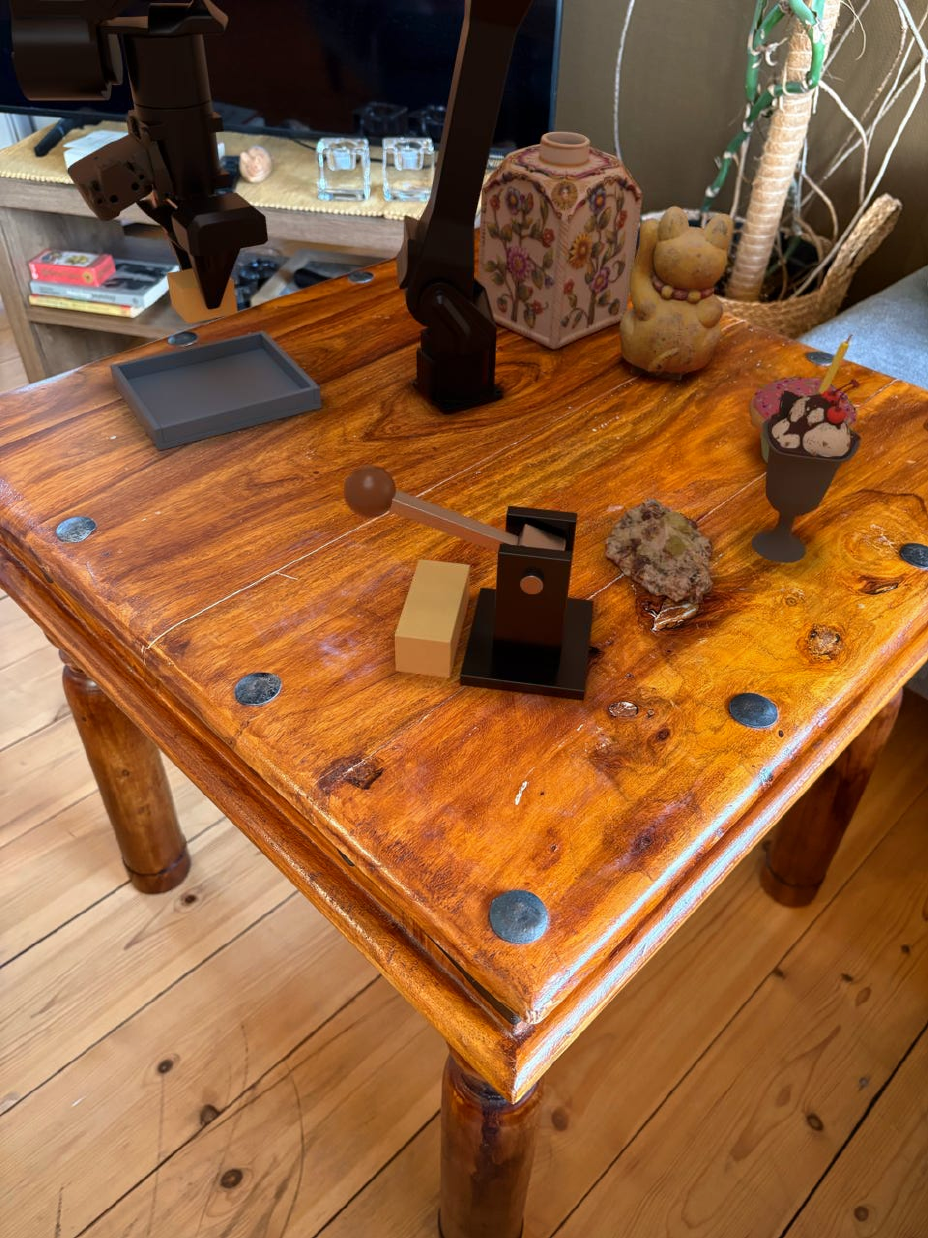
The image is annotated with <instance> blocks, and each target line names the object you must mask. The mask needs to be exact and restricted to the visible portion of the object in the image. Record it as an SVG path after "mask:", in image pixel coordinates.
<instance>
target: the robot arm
mask: <svg viewBox="0 0 928 1238" xmlns="http://www.w3.org/2000/svg"><path fill="white" fill-rule="evenodd" d="M136 1H137V0H8V4H9V8H10V11H11V15H12V16H11V24H10V32H11V33H10V35H11V44H12V51H13V52H11V61H12V64H13V69H14V73H15V76H16V79H17V82H18V85H19V88H20V89H21V91H22V93H23V95H24V96H25V97H26V99H28V101H109V100H110V98H111V94H112V85H113V86H121V85H122V84H123V79H124V69H123V66H124V65H123V58H122V51H121V47H120V43H119V38H118V35H121V41H122V47H123V52H124V57H125V62H126V69H127V73H128V79H129V84H130V85H129V86H130V89H131V95H132V100H133V106H134V109H131V110H127V111H128V116H126V117H125V122H126V127H127V133H128V134H126V135H124V136H122V137H120V138H119V139H117V140H113V141H110V142H109V143H106V144H104V145H103V146H101V147H99V148H97V149H96V150H94V151H92V152H91V153H89V154H87V155H85V156H83V157H82V158H80V159H78V160H77V161H75V162H72V164H70V165H69V166H68V167H67V170H66V173H67V174H68V176H69V178H70V179H71V182H72V183H73V184H74V187H76V189H77V190H78V192H79V194H80V196H81V197H82V199H83V200H84V202H85V203H86V205H87V207H88V208H89V210H90V211H91V212H92V213H93V214H94V215H95V216H96V217H97V219H98V221H100V222H110V221H112V220H114V219H116V218H118V217H120V215H121V213H122V212H123V211H124V210H126V209H128V208H130V207H131V206H133V205H135V204H136V206H137V207H138V208H139V210H141V211H142V212H143V213H144V214H145V215H146V216H147V217H148V218H150V219H151V220H152V221H154V222H155V223H156V224H158V225H160V227H161V228H162V230H163V232H164V235H165V236H166V240H167V241H168V243H169V246H170V248H171V250H172V253H173V255H174V257H175V260H176V262H177V265H178V267H179V270H180V271H181V270H186V269H191V268H193V270H194V273H195V276H196V279H197V282H198V285H199V289H200V292H201V294H202V297H203V300H204V303H205V306H206V308H207V309H209V310H211V309H216V308H219V307H220V305H221V302H222V299H223V296H224V293H225V290H226V287H227V284H228V281H229V278H230V277H231V276H232V272H233V269H234V266H235V265H236V262H237V259H238V256H239V255H240V252H241V250H242V249H247V248H252V247H256V246H257V247H258V246H263V245H265V244H267V242H268V241H269V236H268V234H269V233H268V228H267V218H266V217H267V216H266V215H265V214H264V213H262V212H261V211H260V210H259V209H257V207H255V206H254V205H253V204H251V203H250V202H248V201H247V200H246V199H245V198H244V197H243V196H242V195H240V194H239V193H238V192H230V193H225V194H217V193H216V190H221V189H222V190H223V189H228V188H232V183H231V175H230V173H229V172H228V171H227V170H225V168H223V167H221V161H220V160H221V159H220V153H219V145H218V139H217V133H221V132H225V129H224V122H223V121H224V120H223V117H222V116H221V115H220V114H218V113H217V112H215V111H214V108H213V102H212V95H211V94H212V93H211V86H210V79H209V73H208V66H207V64H208V63H207V59H206V49H205V43H204V36H205V35H206V36H207V35H208V36H209V35H210V36H212V35H214V36H215V35H216V36H217V35H223V34H224V33H225V30H226V27H227V26H228V22H229V17H228V15H227V14H226V13H225V12H223V11H222V10H221V9H219V7H217V6H216V5H215V4H214V3H213V2H212V1H211V0H192V1H191V2H190V3H178V2H177V3H172V2H171V3H169V2H168V3H157V1H159V0H139V1H141V2H146V3H147V2H149V3H150V4H149V5H148V7H147V16H145V15H144V16H122V17H121V16H120V15H121V14H122V13H124V12H125V11H126V10H127V9H128V8H129V7H130V6H131V5H133V4H134V3H135V2H136ZM533 1H534V0H464V16H463V22H462V26H461V27H462V28H461V32H460V38H459V43H458V48H457V53H456V59H455V64H454V70H453V75H452V80H451V84H450V91H449V96H448V101H447V106H446V112H445V117H444V122H443V127H442V133H441V137H440V143H439V148H438V153H437V159H436V164H435V169H434V175H433V180H432V184H431V189H430V190H431V191H430V195H429V199H428V200H427V204H426V206H425V208H424V210H423V212H422V214H421V216H420V218H419V219H418V218H415V217H412V216H410V215H407V214H405V215H404V216H403V239H402V244H401V247H400V249H399V251H398V253H397V254H396V255H395V263H396V264H395V265H396V271H397V281H398V288H399V290H404V297H405V305H406V310H407V311H408V313H409V314H410V315H411V317H412V318H413V319H414V321H416V322H417V323H419V324H420V325H421V326H422V327H424V328H421V329H420V347H417V348H416V352H415V356H416V357H415V358H416V360H415V361H416V363H415V364H416V377H415V378H413V379H412V386H413V387H414V388H415V389H416V390H417V391H419V392H420V393H421V394H422V395H423V396H424V397H425V398H427V400H428V401H429V402H431V404H433V405H434V406H435V407H436V408H437V409H439V410H440V411H441V412H443V413H444V414H451V413H453V412H454V413H455V412H457V411H461V410H464V409H469V408H472V407H475V406H479V405H482V404H486V403H489V402H493V401H497V400H500V399H503V398H504V390H503V389H501V388H500V387H499V386H498V385H496V384H495V380H496V379H495V378H496V363H497V362H496V361H497V338H498V337H497V335H498V328H497V325H496V324H497V323H496V322H495V320H494V317H493V313H492V309H491V305H490V302H489V298H488V294H487V291H486V288H485V287H484V286H483V285H482V284H481V283H480V282H479V281H478V278H476V277H475V271H476V270H475V269H476V267H475V266H476V264H475V263H476V261H475V260H476V259H475V258H476V257H475V256H476V254H475V253H476V252H475V251H476V249H475V247H476V245H475V243H476V241H475V240H476V238H475V228H476V227H475V223H476V216H477V212H478V207H479V203H480V199H481V193H482V187H483V185H484V181H485V176H486V172H487V168H488V167H487V166H488V162H489V159H490V154H491V148H492V144H493V139H494V136H495V131H496V126H497V121H498V117H499V113H500V109H501V104H502V99H503V95H504V90H505V87H506V86H505V85H506V81H507V77H508V73H509V68H510V63H511V58H512V55H513V49H514V46H515V40H516V36H517V33H518V31H519V30H520V27H521V25H522V23H523V21H524V19H525V17H526V15H527V13H528V11H529V10H530V8H531V5H532V4H533ZM153 2H156V3H153ZM216 194H217V195H216Z"/></svg>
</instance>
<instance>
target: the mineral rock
mask: <svg viewBox="0 0 928 1238" xmlns="http://www.w3.org/2000/svg"><path fill="white" fill-rule="evenodd" d="M698 527H699V525H698V524H697V522H696V521H695V520H694V519H692V518H689V517H687V516H686V515H684V513H682V512H678V511H675V510H674V509H673V508H671V507H670V506H667V505H663V503H662V502H661V501H659V500H657V499H656V498H645V500H644V501H643V502H642V503H640V504H639V505H637V506H636V505H635V506H634V507H633V508H631V509H627V510H626V512H625V513H624V514H623V516H622V517H621V518H620V519H619V520H618V522H617V523H615V524H614V526H613V527H612V530H611V533H610V535H609V537H607V538H606V540H605V545H606V551H605V556H606V557H607V558H609V559H610V560H611V561H612V562H613V563H614V564H616V565H617V566H618V567H619V569H620V571H621V573H623V575H626V577H629V578H631V581H635V582H636V583H638V584H639V585H640V586H641V587H642V588H644V589H645V590H646V591H648V593H649V594H651V595H655V596H656V597H659V596H665V597H668V598H670V600H671V601H674V602H676V603H678V602H679V601H681V600H684V601H687V602H689V603H691V604H694V605H697V604H700V603H702V601H703V598H704V597H703V595H707V594H708V593H709V592H711V591H712V586H713V584H714V582H713V581H712V579H711V575H710V572H709V567H710V562H711V561H710V560H709V558H711V557H712V552H713V550H714V546H713V544H712V543H713V542H712V541H711V538H709V537H707V536H705V535H704V534H702V533H701V532H700V531H698Z"/></svg>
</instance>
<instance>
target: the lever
mask: <svg viewBox="0 0 928 1238" xmlns="http://www.w3.org/2000/svg"><path fill="white" fill-rule="evenodd" d="M343 497H344V501H345V504H346V505H347V507H348V509H350V510H351V512H353V513H354V514H355V515H357V516H359V517H361V518H364V519H376V518H379V517H382V516H384V515H386V514H387V513H388V512H389V513H391V514H394V515H397V516H400V517H402V518H405V519H408V520H411V521H413V522H416V523H418V524H421V525H424V526H426V527H429V528H432V529H434V530H437V531H439V532H441V533H445V534H447V535H449V536H453V537H455V538H457V539H459V540H460V539H461V540H463V541H465V542H469V543H470V544H474V545H476V546H479V547H481V548H484V549H487V550H489V551H492V552H495V553H497V554H498V549H499V545H500V544H510V545H519V546H528V547H537V548H545V549H554V550H563V551H565V544H566V539H564V538H561V537H559V536H556V535H554V534H551V533H548V532H546V531H543V530H540V529H538V528H535V527H533V526H530V525H527V524H525V525H524V526H523V528H522V530H521V532H520V535H519V536H516V535H513V534H511V533H508V532H506V531H505V530H504V529H500V528H498V527H495V526H493V525H490V524H487V523H484V522H482V521H480V520H477V519H474V518H471V517H470V516H467V515H464V514H461V513H458V512H455V511H453V510H451V509H448V508H445V507H443V506H440V505H437V504H435V503H432V502H429V501H428V500H425V499H422V498H419V497H418V496H417V497H416V496H414V495H411V494H408V493H406V492H404V491H401V490H399V489H397V487H396V483H395V480H394V479H393V477H392V475H391V474H390V473H389V472H388V471H387V470H385V469H384V468H382V467H380V466H377V465H369V464H368V465H362V466H360V467H357V468H356V469H354V470H353V471H351V472H350V474H349V475H348V476H347V478H346V479H345V481H344V485H343Z"/></svg>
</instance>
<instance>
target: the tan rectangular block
mask: <svg viewBox="0 0 928 1238" xmlns="http://www.w3.org/2000/svg"><path fill="white" fill-rule="evenodd" d="M470 580H471V565H470V564H465V563H457V562H449V561H441V560H431V559H423V558H422V559H420V558H418V560H417V563H416V567H415V571H414V573H413V577H412V580H411V582H410V586H409V589H408V592H407V595H406V598H405V602H404V605H403V608H402V611H401V613H400V618H399V621H398V624H397V625H396V629H395V633H394V657H395V671H396V672H398V673H407V674H416V675H422V676H423V675H424V676H432V677H439V678H447V679H451V676H452V672H453V667H454V664H455V660H456V656H457V651H458V647H459V643H460V640H461V635H462V630H463V628H464V622H465V618H466V614H467V610H468V606H469V603H470V586H471V585H470V583H471V582H470Z"/></svg>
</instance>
